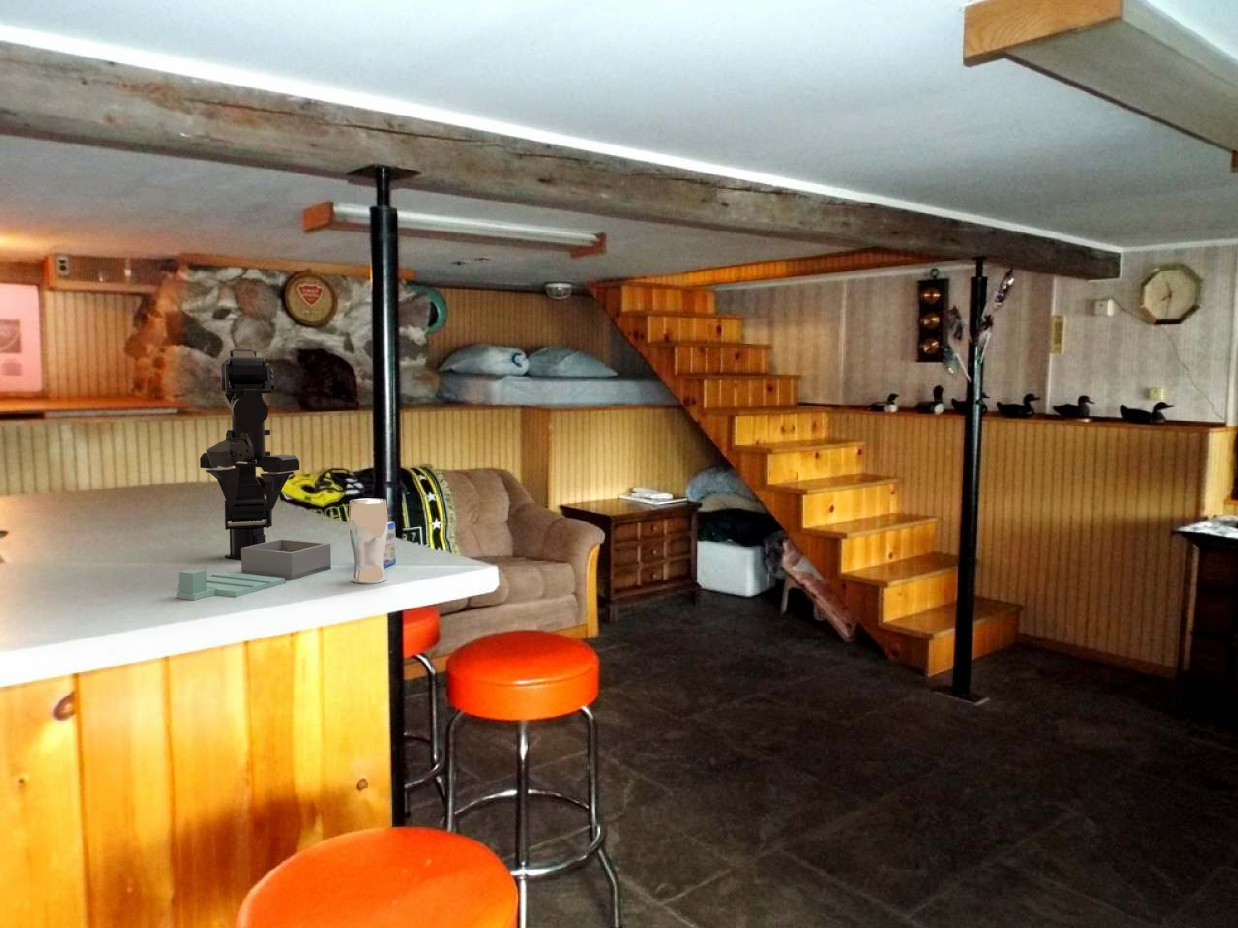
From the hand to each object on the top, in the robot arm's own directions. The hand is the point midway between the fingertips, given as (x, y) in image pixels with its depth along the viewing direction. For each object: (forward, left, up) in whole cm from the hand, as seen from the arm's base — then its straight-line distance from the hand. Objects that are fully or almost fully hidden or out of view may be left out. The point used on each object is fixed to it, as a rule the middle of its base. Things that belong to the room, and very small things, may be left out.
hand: (250, 507), depth 173 cm
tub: (+3, +6, -13) cm, 15 cm away
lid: (+3, -10, -13) cm, 17 cm away
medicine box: (+16, +17, -13) cm, 27 cm away
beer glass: (+22, +6, -13) cm, 26 cm away
